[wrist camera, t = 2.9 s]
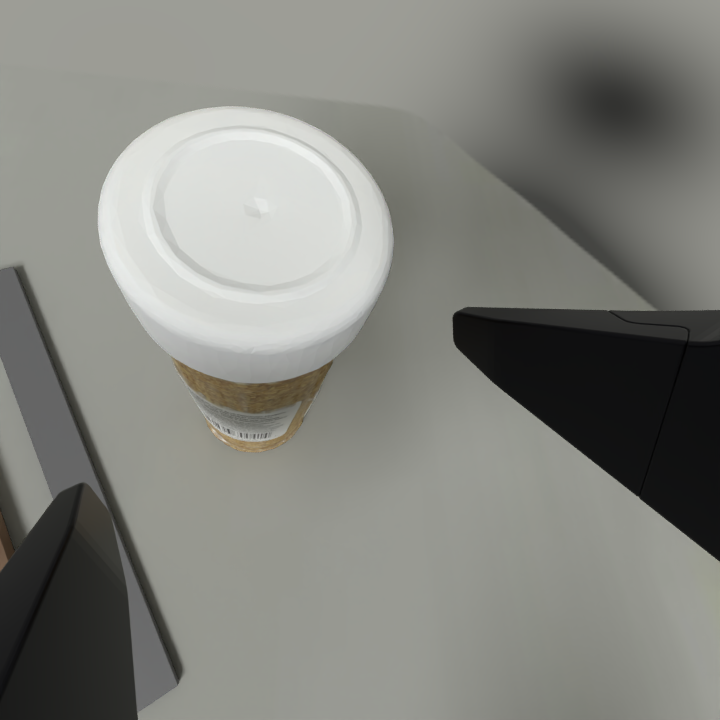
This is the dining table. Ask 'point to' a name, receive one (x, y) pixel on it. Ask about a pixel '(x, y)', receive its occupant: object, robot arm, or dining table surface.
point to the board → (4, 544)
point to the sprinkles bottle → (246, 259)
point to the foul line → (72, 465)
